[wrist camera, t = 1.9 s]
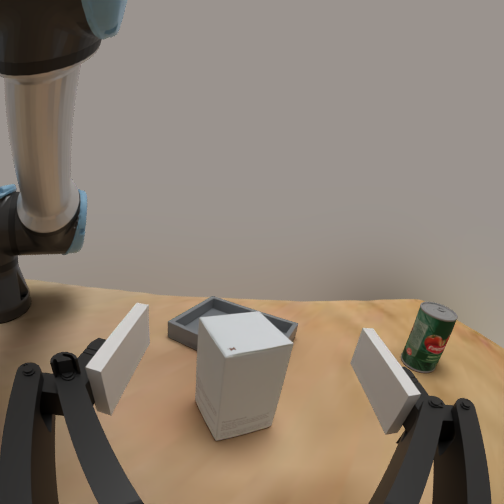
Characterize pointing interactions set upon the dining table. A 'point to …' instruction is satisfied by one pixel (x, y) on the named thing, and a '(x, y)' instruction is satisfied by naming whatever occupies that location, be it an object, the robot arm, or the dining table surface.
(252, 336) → the supplement box
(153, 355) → the dining table surface
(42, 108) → the robot arm
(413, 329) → the canned tomato
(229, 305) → the gray tray
